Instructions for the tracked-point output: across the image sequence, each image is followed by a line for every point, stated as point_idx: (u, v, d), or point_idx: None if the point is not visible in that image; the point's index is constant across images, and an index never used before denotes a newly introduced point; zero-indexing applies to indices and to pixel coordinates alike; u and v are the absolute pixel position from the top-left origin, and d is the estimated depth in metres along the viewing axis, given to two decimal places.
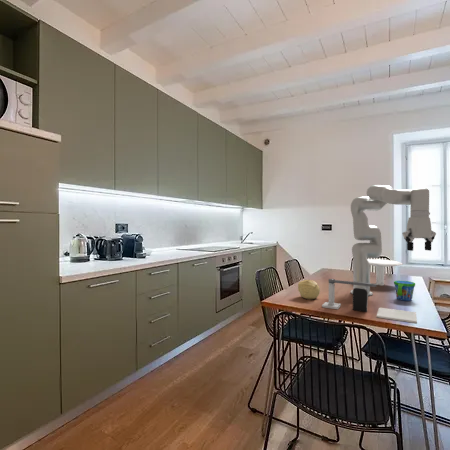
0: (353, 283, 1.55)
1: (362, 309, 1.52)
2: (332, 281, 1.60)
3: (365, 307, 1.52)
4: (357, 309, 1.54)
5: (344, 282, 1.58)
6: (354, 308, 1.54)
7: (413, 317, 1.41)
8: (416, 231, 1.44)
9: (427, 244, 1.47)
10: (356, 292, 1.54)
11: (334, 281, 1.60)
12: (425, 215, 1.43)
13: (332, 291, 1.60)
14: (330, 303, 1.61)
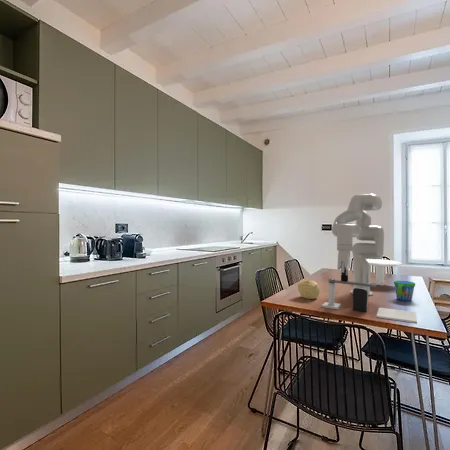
0: (353, 283, 1.55)
1: (362, 309, 1.52)
2: (332, 281, 1.60)
3: (365, 307, 1.52)
4: (357, 309, 1.54)
5: (344, 282, 1.57)
6: (354, 308, 1.54)
7: (413, 317, 1.41)
8: (347, 264, 1.56)
9: None
10: (356, 292, 1.54)
11: (334, 281, 1.60)
12: (352, 249, 1.58)
13: (332, 291, 1.60)
14: (330, 303, 1.61)
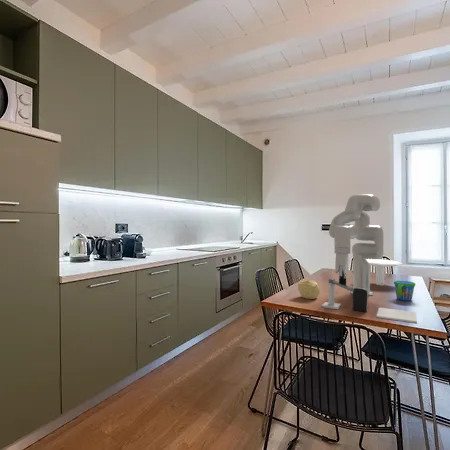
0: (340, 285, 1.51)
1: (362, 309, 1.52)
2: (329, 281, 1.61)
3: (365, 307, 1.52)
4: (357, 309, 1.54)
5: (336, 283, 1.55)
6: (354, 308, 1.54)
7: (413, 317, 1.41)
8: (345, 267, 1.51)
9: None
10: (356, 292, 1.54)
11: (331, 281, 1.60)
12: None
13: (332, 291, 1.60)
14: (330, 303, 1.61)
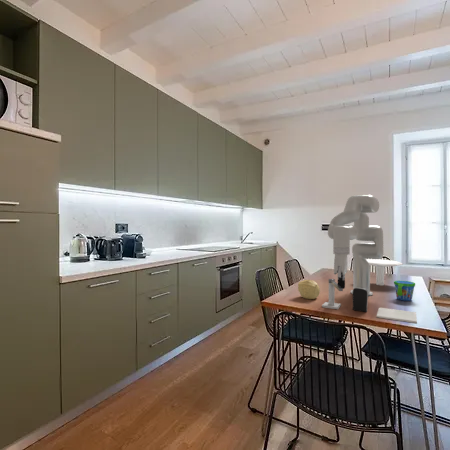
0: (334, 285, 1.51)
1: (362, 309, 1.52)
2: (329, 281, 1.61)
3: (365, 307, 1.52)
4: (357, 309, 1.54)
5: (332, 283, 1.55)
6: (354, 308, 1.54)
7: (413, 317, 1.41)
8: (344, 268, 1.47)
9: None
10: (356, 292, 1.54)
11: (330, 281, 1.60)
12: (349, 252, 1.49)
13: (332, 291, 1.60)
14: (330, 303, 1.61)
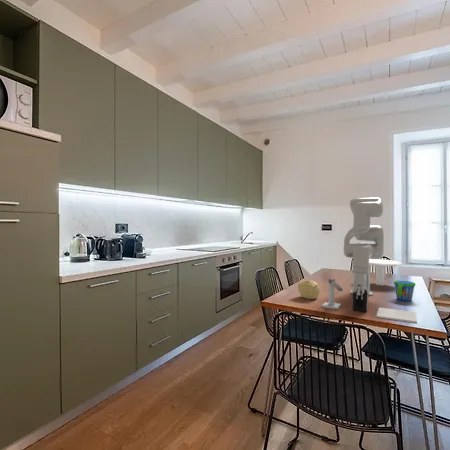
0: (334, 285, 1.51)
1: (362, 309, 1.52)
2: (329, 281, 1.61)
3: (365, 307, 1.52)
4: (357, 309, 1.54)
5: (332, 283, 1.55)
6: (354, 308, 1.54)
7: (413, 317, 1.41)
8: (364, 287, 1.50)
9: None
10: (356, 292, 1.54)
11: (330, 281, 1.60)
12: (368, 271, 1.52)
13: (332, 291, 1.60)
14: (330, 303, 1.61)
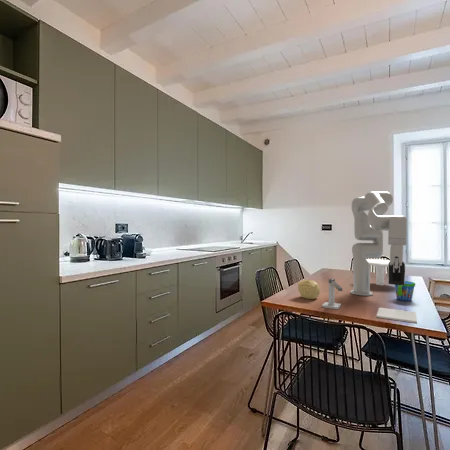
0: (334, 285, 1.51)
1: (399, 283, 1.44)
2: (329, 281, 1.61)
3: (402, 280, 1.44)
4: (393, 283, 1.46)
5: (332, 283, 1.55)
6: (390, 282, 1.46)
7: (413, 317, 1.41)
8: (402, 259, 1.42)
9: None
10: (392, 265, 1.46)
11: (330, 281, 1.60)
12: None
13: (332, 291, 1.60)
14: (330, 303, 1.61)
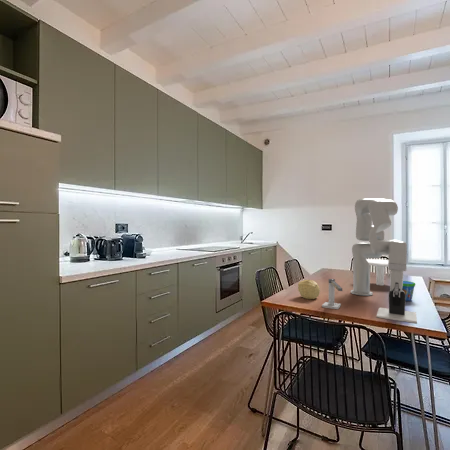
0: (334, 285, 1.51)
1: (400, 312, 1.45)
2: (329, 281, 1.61)
3: (403, 310, 1.44)
4: (394, 312, 1.46)
5: (332, 283, 1.55)
6: (391, 311, 1.47)
7: (413, 317, 1.41)
8: (402, 285, 1.42)
9: None
10: None
11: (330, 281, 1.60)
12: None
13: (332, 291, 1.60)
14: (330, 303, 1.61)
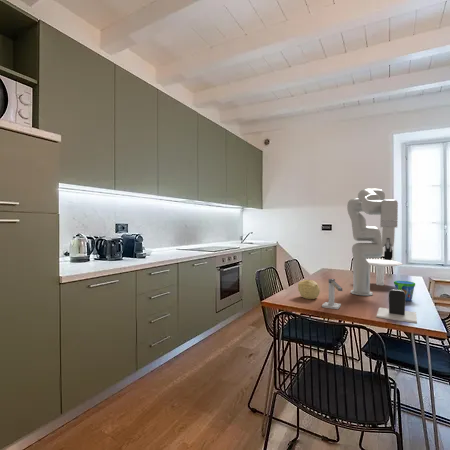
0: (334, 285, 1.51)
1: (400, 312, 1.45)
2: (329, 281, 1.61)
3: (403, 310, 1.44)
4: (394, 312, 1.46)
5: (332, 283, 1.55)
6: (391, 311, 1.47)
7: (413, 317, 1.41)
8: (393, 241, 1.49)
9: None
10: (393, 294, 1.46)
11: (330, 281, 1.60)
12: None
13: (332, 291, 1.60)
14: (330, 303, 1.61)
